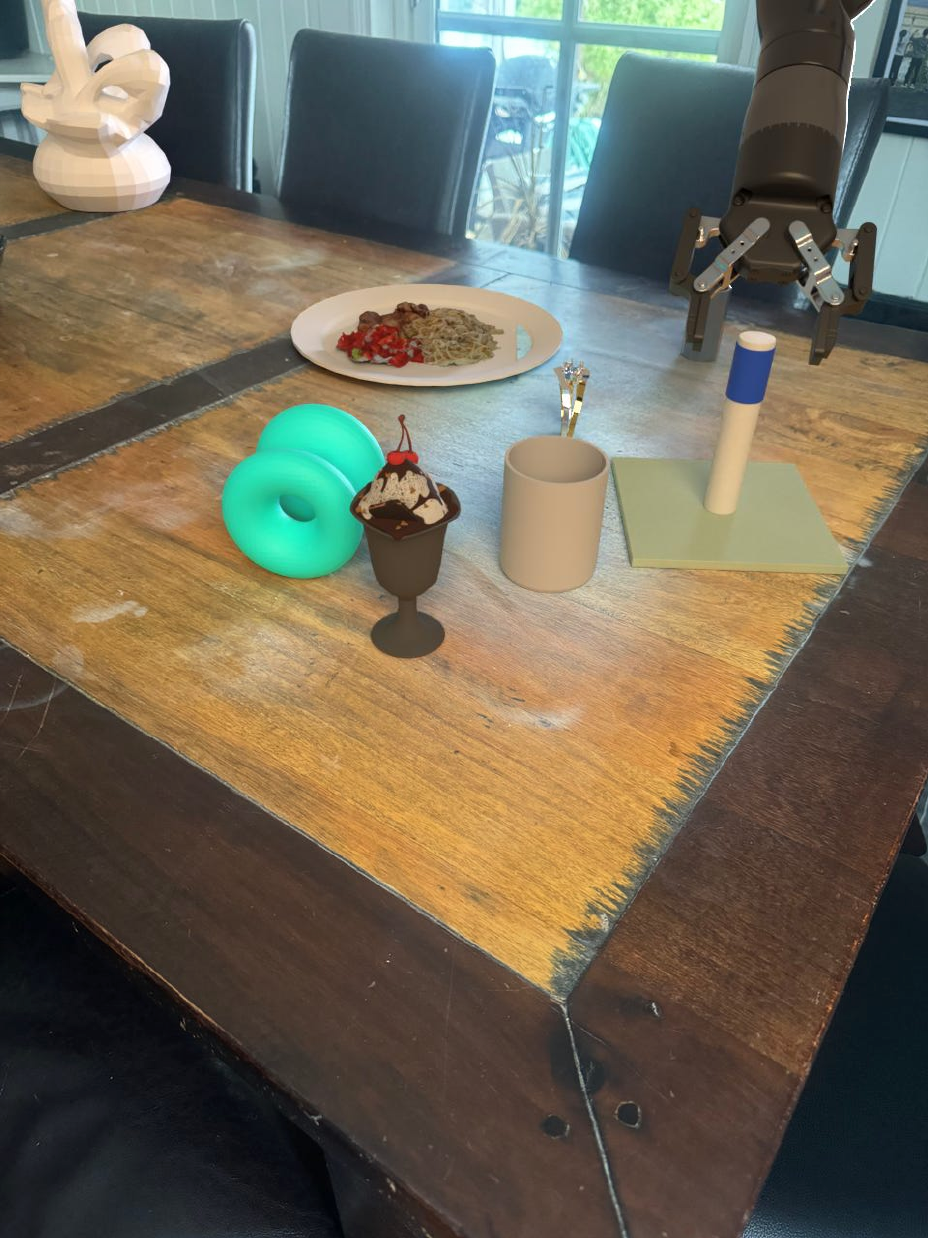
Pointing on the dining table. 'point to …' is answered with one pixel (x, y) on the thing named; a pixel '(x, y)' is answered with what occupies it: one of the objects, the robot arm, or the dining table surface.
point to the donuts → (302, 491)
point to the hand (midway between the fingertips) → (756, 354)
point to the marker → (739, 419)
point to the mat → (722, 519)
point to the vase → (98, 116)
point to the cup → (552, 512)
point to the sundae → (406, 546)
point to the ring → (570, 393)
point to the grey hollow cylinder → (710, 329)
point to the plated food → (425, 334)
